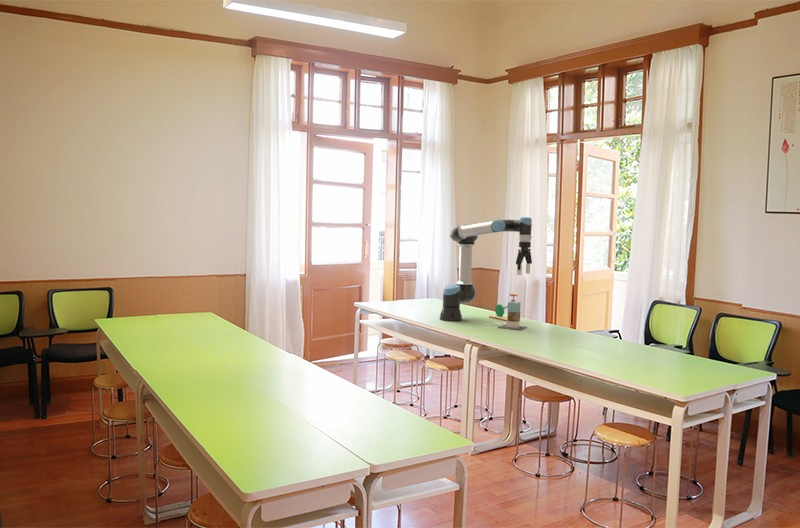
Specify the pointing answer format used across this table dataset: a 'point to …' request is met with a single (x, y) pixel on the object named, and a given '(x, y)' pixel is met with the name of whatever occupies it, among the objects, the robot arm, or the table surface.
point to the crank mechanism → (501, 310)
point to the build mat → (513, 325)
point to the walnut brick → (513, 316)
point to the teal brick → (514, 307)
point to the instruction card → (500, 324)
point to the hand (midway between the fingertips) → (523, 274)
